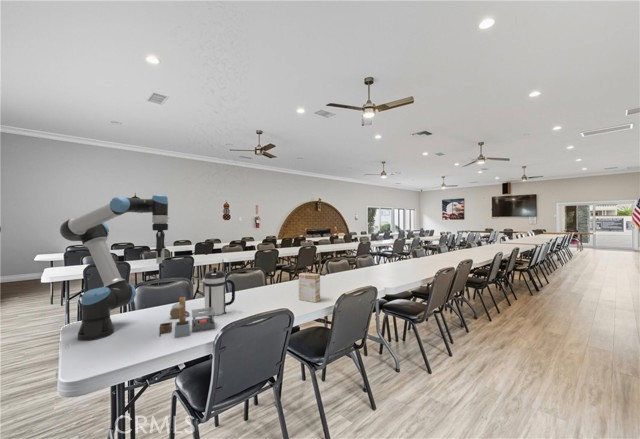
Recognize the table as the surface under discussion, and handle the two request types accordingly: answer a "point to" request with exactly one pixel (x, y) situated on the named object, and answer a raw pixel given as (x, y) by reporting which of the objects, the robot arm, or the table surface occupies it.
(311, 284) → the coffeecake box
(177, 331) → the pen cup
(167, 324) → the dowel holder
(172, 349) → the table surface
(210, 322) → the button base
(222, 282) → the coffee press
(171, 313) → the ceramic mug
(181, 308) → the dowel
